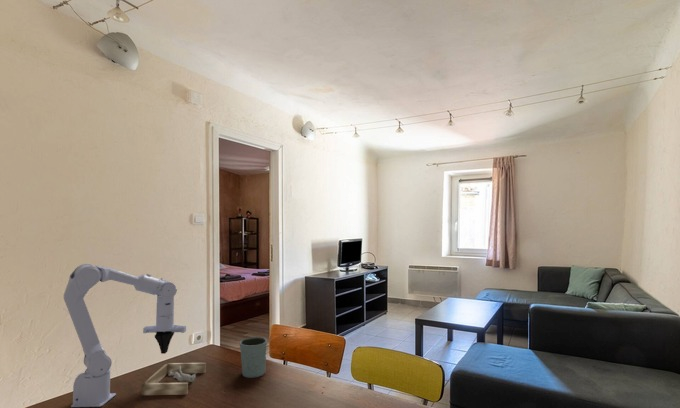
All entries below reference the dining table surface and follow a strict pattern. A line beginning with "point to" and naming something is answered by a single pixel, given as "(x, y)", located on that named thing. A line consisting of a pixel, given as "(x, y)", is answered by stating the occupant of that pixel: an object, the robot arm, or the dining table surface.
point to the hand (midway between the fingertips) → (164, 352)
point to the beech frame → (157, 388)
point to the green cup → (253, 356)
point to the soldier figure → (183, 376)
